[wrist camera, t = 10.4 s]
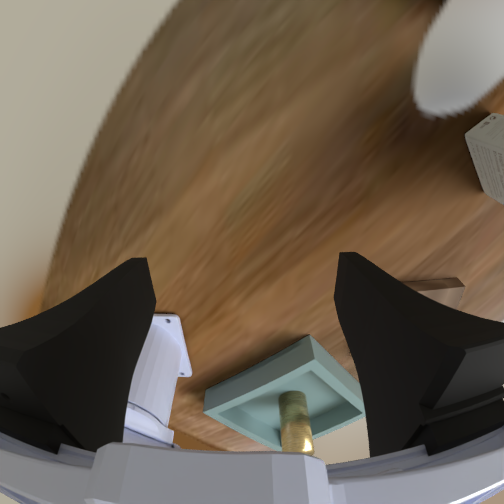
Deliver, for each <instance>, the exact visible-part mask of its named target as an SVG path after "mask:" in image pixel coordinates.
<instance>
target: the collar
mask: <svg viewBox="0 0 504 504" xmlns="http://www.w3.org/2000/svg"><path fill="white" fill-rule="evenodd" d="M402 283H403V284H405V285H407V286H408V287H410V288H411V289H413V290H415V291H417V292H419V293H420V294H422V295H424V296H426V297H428V298H430V299H432V300H434V301H437V302H439V303H441V304H443V305H446V306H448V307H451V308H453V309H456V310H457V308H458V305H459V302H460V300H461V297H462V294H463V292H464V289H465V286H464V285H463V283H462V282H461V281H460V280H459V279H458V278H449V279H437V280H425V281H412V282H402Z"/></svg>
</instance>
